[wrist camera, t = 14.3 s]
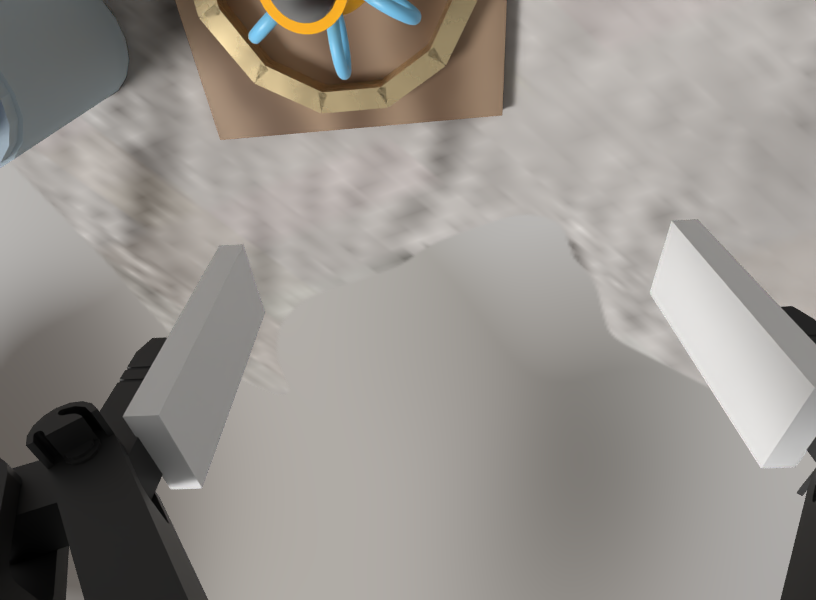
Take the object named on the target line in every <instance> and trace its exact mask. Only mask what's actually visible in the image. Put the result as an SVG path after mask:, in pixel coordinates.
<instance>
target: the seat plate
mask: <svg viewBox="0 0 816 600" xmlns="http://www.w3.org/2000/svg"><path fill="white" fill-rule="evenodd" d="M407 1H409V2H410V3H411V4H413V5H414V6H415V7H416V8H417V9H418V10H419V11H420V13H421V21H420V22H419V23H418V24H417V25H409V24H406V23H403V22H401V21H398V20H396V19H394V18H392V17H390V16H388V15H386V14H385V13H383V12H381V11H379V10H378V9H376V8H374V7H373V6H371V5H370V4H368V3H367V2H366V1H365V2H364V3H363V4H362V5H361V6H360V7H359V8H358V9H356V10H355V11H353V12H351V13H349V14H346V15H343V17H344V21H345V25H346V30H347V35H348V41H349V48H350V56H351V76H350V77H349V79H347V80H342V79H341V78H339V76H338V75H337V73H336V70H335V67H334V64H333V60H332V56H331V51H330V46H329V41H328V34H327V29H326V30H324V31H322V32H319V33H316V34H299V33H295V32H292V31H290V30H288V29H286V28H284V27H282V26H281V25H279V24H277V25H276V26H275V27H274V28H273V29H272V30H271V31H270V32H269V34H268V35H267V36H266V37H265V38H264V39H263V40H262V41H261V42H260V43H258V44H259V45H260V46H261V47H262V49H263V50H264V51H265V52H266V54H267V55H268V56H269V57H270V59H272V60H274V61H276V62H278V63H280V64H283V65H285V66H287V67H289V68H291V69H293V70H295V71H297V72H300V73H302V74H304V75H306V76H308V77H310V78H312V79H314V80H317V81H319V82H321V83H323V84H325V85H329V84H340V83H351V82H362V81H373V80H382V79H383V78H384V77H386V76H387V75H388V74H390V73H391V72H392V71H393V70H395V69H396V68H397V67H399V66H400V65H401V64H403V63H404V62H405V61H407V60H408V59H409V58H411V57H412V56H413V55H415V54H416V53H417V52H419V51H420V50H421V49H423V48H424V47H425V46H427V45H428V44H429V41H430V39H431V37H432V35H433V33H434V30H435V28H436V26H437V24H438V21H439V19H440V17H441V15H442V13H443V10H444V8H445V6H446V4H447V2H448V0H407ZM175 2H176V5H177V8H178V11H179V14H180V17H181V20H182V23H183V27H184V30H185V33H186V36H187V39H188V42H189V45H190V48H191V51H192V54H193V57H194V60H195V63H196V66H197V70H198V73H199V76H200V79H201V82H202V85H203V88H204V91H205V94H206V97H207V100H208V103H209V106H210V109H211V113H212V116H213V119H214V122H215V125H216V128H217V131H218V134H219V137H220V140H226V139H238V138H249V137H260V136H272V135H283V134H295V133H306V132H317V131H329V130H340V129H352V128H363V127H374V126H386V125H397V124H409V123H420V122H431V121H443V120H454V119H466V118H477V117H488V116H500V115H502V109H503V84H504V58H505V33H506V7H507V0H477V2H476V4H475V6H474V8H473V11H472V13H471V15H470V17H469V19H468V21H467V23H466V25H465V27H464V29H463V31H462V33H461V35H460V37H459V40H458V42H457V44H456V46H455V48H454V50H453V52H452V54H451V56H450V58H449V60H448V62H447V64H446V65H445V67H444V68H442V69H441V70H439V71H438V72H437V73H435V74H434V75H433V76H431V77H430V78H428V79H427V80H426V81H424V82H423V83H422V84H420V85H419V86H417V87H416V88H415V89H413V90H412V91H410V92H409V93H408V94H406V95H405V96H404V97H402V98H401V99H399V100H398V101H397V102H395V103H394V104H393V105H391V106H390V107H388V108H379V109H368V110H356V111H345V112H334V113H323V114H322V112H321V113H319V112H316V111H314V110H312V109H310V108H308V107H305V106H303V105H301V104H299V103H297V102H294V101H292V100H290V99H288V98H285V97H283V96H281V95H279V94H277V93H274V92H272V91H270V90H268V89H266V88H263V87H261V86H259V85H257V84H255V82H256V81H255V82H253V81H252V80H251V79H250V78H249V77H248V75H247V74H246V73H245V72H244V71H243V69H242V68H241V67H240V66H239V65H238V64H237V62H236V61H235V60H234V59H233V58H232V56H231V55H230V54H229V53H228V52H227V50H226V49H225V48H224V47H223V46H222V45H221V43H220V42H219V41H218V40H217V39H216V37H215V36H214V35H213V34H212V33H211V32H210V30H209V29H208V28H207V27H206V26H205V24H204V23H203V22H202V21H201V20H200V19H199V18H200V17H198V13H197V10H196V7H195V3H194V0H175ZM226 2H227V5H228V6H229V7H230V9H231V10H232V11H233V12H234V14H235V15H236V16H237V17H238V19H239V20H240V21H241V22H242V24H243V25H244V26H245V27H246V29H247V30H248V31H249V32H250V30H251V29H252V28H253V27H254V25H255V24H256V23H257V22H258V21H259V20H260V18H261V17H262V16H263V15H264V14H265V13H266V12H267V11H266V10H265V8H264V7H263V5H262V3H261V1H260V0H226Z"/></svg>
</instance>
